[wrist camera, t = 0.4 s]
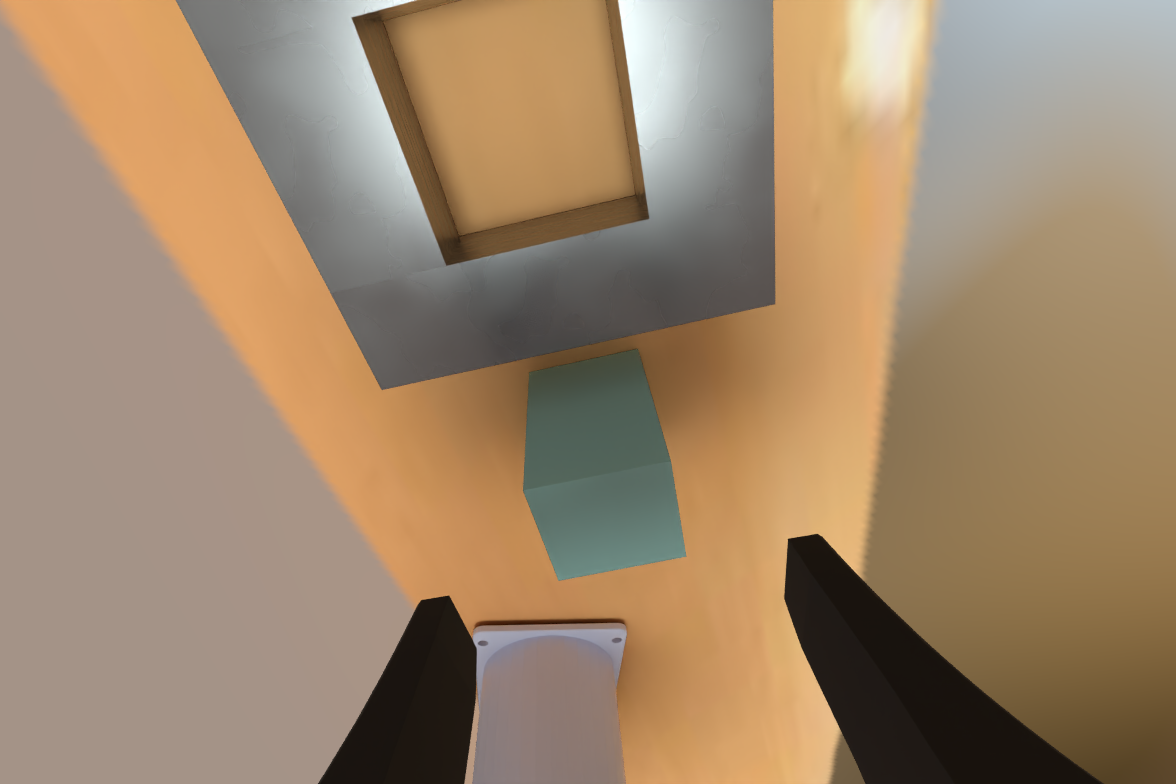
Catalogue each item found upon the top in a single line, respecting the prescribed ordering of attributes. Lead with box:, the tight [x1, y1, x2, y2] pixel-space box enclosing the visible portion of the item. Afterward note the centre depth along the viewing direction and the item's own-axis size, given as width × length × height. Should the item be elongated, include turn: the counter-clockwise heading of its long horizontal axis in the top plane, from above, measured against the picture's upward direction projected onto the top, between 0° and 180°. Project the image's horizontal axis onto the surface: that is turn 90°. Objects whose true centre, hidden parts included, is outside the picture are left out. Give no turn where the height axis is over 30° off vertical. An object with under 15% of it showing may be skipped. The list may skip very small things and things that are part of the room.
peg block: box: [523, 349, 686, 581], centre depth 17 cm, size 4×4×6 cm
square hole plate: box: [176, 0, 775, 390], centre depth 13 cm, size 12×12×2 cm
